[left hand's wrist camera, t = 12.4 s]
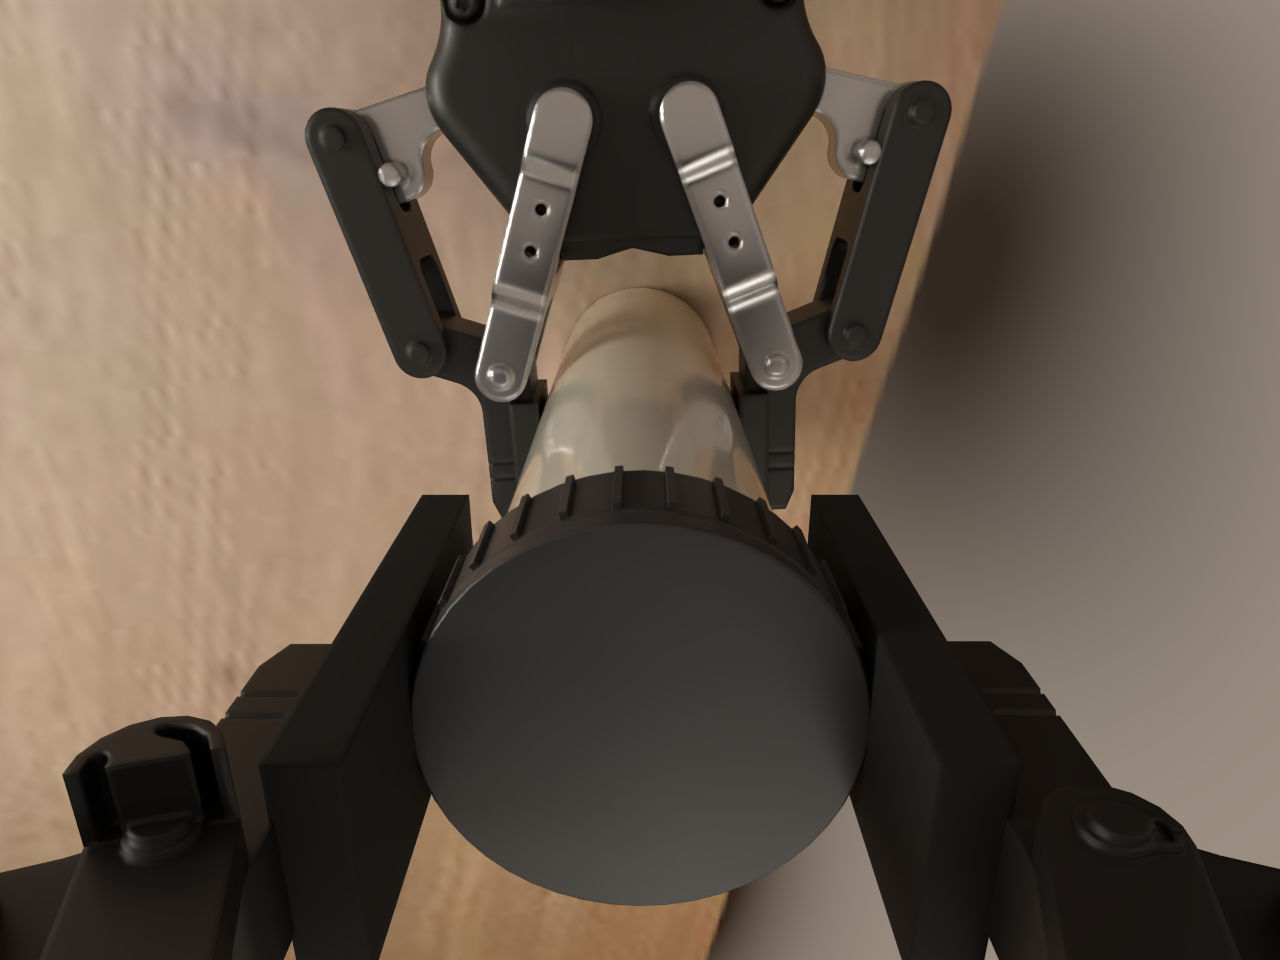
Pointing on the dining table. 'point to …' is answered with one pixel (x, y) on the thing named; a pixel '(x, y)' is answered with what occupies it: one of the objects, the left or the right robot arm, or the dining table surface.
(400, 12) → the dining table surface
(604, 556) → the lid
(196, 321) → the dining table surface
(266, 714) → the left robot arm
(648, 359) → the jar
